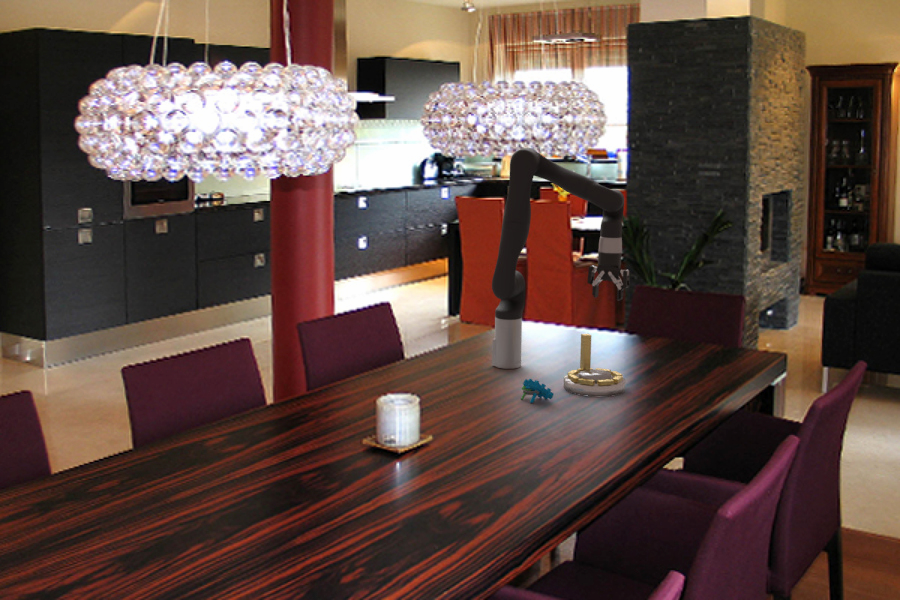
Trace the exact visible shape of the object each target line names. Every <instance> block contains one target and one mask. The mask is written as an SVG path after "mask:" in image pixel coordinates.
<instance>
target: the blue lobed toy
mask: <svg viewBox="0 0 900 600" xmlns="http://www.w3.org/2000/svg"><path fill="white" fill-rule="evenodd" d="M546 387H547V385H546V384H545V383H540V380H537V379H536V380H533V379H532V378H528V379H527V378H526V379H524V381H523V382H522V388H521V389H522V390H523V391H522V393H523V394H522V395H521V398H520V400H521V401H523V400H524V399H525V397H526V395H529V396H532V397H531V398H530V401H529V403H530V404H534V401H535V400H536V398H540V399H542V398H543V399H544V400H546V399H547V400H552V399H553V396H554V392H552V389H551V388H549V387H547V388H546Z"/></svg>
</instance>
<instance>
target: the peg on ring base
mask: <svg viewBox="0 0 900 600" xmlns="http://www.w3.org/2000/svg"><path fill="white" fill-rule="evenodd" d="M591 355H592V334H590V333H581V334H580V356H579V357H580V359H579V368H577V369H572V370H570V371H568V372H567V375H568V376H567V377H568V379H570V380H571V381H573V382H578V383H580V384H587V385H594V384H595V380H590V379H582V378H580V379H579V378H578V377H577V376H576V375H577V374H578V373H579V372H580V371H583V370H591V369H593V367H591V363H592V362H591V361H592V360H591V359H592V356H591ZM594 370H604V371H608V372H610V373H611V376H613V377H615V378H613V380H612V379H607V380H597V384H598V385H612V384H614V383H619V382H621V381H622V380H623V378H624V376H623V374H622V373H620V372H619V371H617V370H612V369H609V368H601V367H600V368H599V367H596V368H594Z"/></svg>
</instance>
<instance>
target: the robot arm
mask: <svg viewBox="0 0 900 600" xmlns="http://www.w3.org/2000/svg"><path fill="white" fill-rule="evenodd" d="M534 177H537V178H540V179H543V180H546V181H547V182H550V183H553V184H554V185H555V186H557V187H559V188H561V190H563V191H565V192H566V193H568V194H571V195H573V196H575V197H577V198H580V199H581V200H585V201H587V202H589V203H591V204H593V205H595V206H596V207H598V208H600V209H602V220H601V222H600V231H599V232H600V234H599V236H600V237H599V241H598V252H597V253H598V256H597V264H598V265H597V266H595V265H594V264H593V265H590V266H588V272H587V273H588V274H587V282H586V283H587V284H588V285H589V284H590V285H592V290H591V291H592V293H591V294H592V296H593V298H598V297H599V291H600V290H599V287H600V286H599V284H601V282H602V281H604V282H605V281H607V282H611V283H612V282H613V284H615V286H616V287H617V290H616V291H617V292H616V301H618V302H620V301H622V300H623V299H624V290H625V289H628V288H630V283H631V282H630V276H631V275H630V272H631V271H630V270H629V269H621V265H622V251H623V240H622V239H623V236H622V235H623V234H622V233H623V218H624V210H625V209H624V208H625V196H624V193H623V192H621V191H620V190H619V189H617V188H612V189H610V188H608V187H606V186H604V185H601V184H599V183H598V182H597V181H595V180H594V179H592V178H590V177H587V176H584V175H583V174H580V173H578V172H575V171H573V170H570V169H568V168H566V167H564V166H561V165H559V164H557V163H555V162H553V161H552V160H550V159H549V158H547V157H545V156H544V155H543V154H541V153H539V152H538V151H536V150H535V149H534V148H531V147H523V148H520V149H518V150H516V151H514V153H513V154H512V155H511V157H510V160H509V181H508V190H507V197H506V201H505V206H504V212H503V217H502V223H501V234H500V240H499V246H498V254H497V255H498V256H497V258H496V259H497V260H496V264H495V268H494V272H493V276H492V280H491V281H492V282H491V290H492V292H493V295H494V296H495V297H496V298H497V299H499V300H500V301H499V304H498V306H497V307H496V308H495V311H494V313H495V314H494V338H492V340H491V341H492V346H491V347H492V350H491V352H492V353H491V354H492V355H491V356H492V357H491V366H493V367H495V368H499V369H504V370H505V369H506V370H512V369H513V370H514V369H518V368H521V366H522V336H523V335H522V333H523V331H522V330H523V329H522V328H523V327H522V326H523V311H524V309H525V303H526V301H525V300H526V280H525V278H524V275H523V274H522V273H521V272H520V271H518V270H517V265H518V260H519V257H520V256H521V253H522V251H523V249H524V247H525V244H526V243H527V241H528V237H529V233H530V226H531V222H532V221H531V218H532V205H531V204H532V203H531V189H532V184H533V179H534ZM596 272H597V274H598V275H597V276H596V278H595V274H596ZM620 275H621V277H622V278H621V277H620Z"/></svg>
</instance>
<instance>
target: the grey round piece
mask: <svg viewBox="0 0 900 600" xmlns="http://www.w3.org/2000/svg"><path fill="white" fill-rule="evenodd" d="M567 376H568V374H567V375H565V376H564V377H563V387H564V386H565V387H564V389H565V390H566V391H567V390H568V391H570V392H569V393H571V392H572V393H571V394H574V393H576V394H575V395H577V394H580V395H579V396H583V395H588V396H587V397H592V396H607V397H613V396H612V395H615V396H619V395H621V393H622V394H623V393H625V392H626V380H625V378H624V377H623V380H622V381H621V382H619V383H614V384H612V385H598V384H597V380H607V379H612V380H613V378H615V377H613V376H611V373H610V372H608V371H604V370H595V368H592V369H591V370H583V371H580V372H579V373H578V374H577V375H576V376H577V377H578V378H579V379H580V378H582V379H590V380H595V384H594V385H587V384H580V383H578V382H573V381H571V380H570V379H568V377H567ZM568 391H567V392H568ZM618 394H619V395H618Z"/></svg>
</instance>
